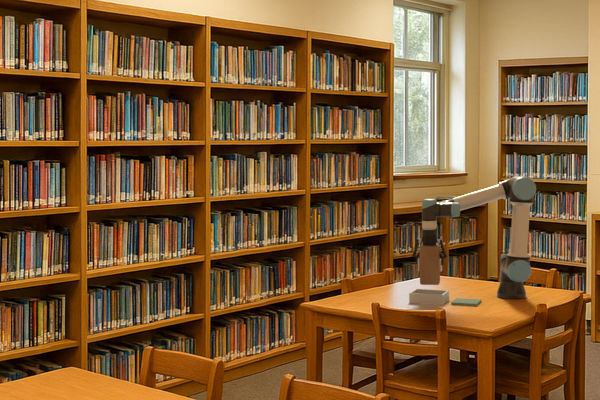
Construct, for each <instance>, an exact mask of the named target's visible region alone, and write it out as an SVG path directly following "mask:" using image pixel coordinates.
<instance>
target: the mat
mask: <svg viewBox="0 0 600 400" xmlns="http://www.w3.org/2000/svg"><path fill="white" fill-rule="evenodd" d="M481 303H482V299H477V298H476V299H475V298H464V297H463V298H462V297H456V298H454V299H453V300H452V301H451V302H450V305H452V306H467V307H468V306H469V307H478V306H479V305H480V304H481Z"/></svg>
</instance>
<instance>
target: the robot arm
mask: <svg viewBox="0 0 600 400" xmlns="http://www.w3.org/2000/svg"><path fill="white" fill-rule="evenodd" d="M536 193H537V186H536V183H535V182H534V180H533V179H532V178H530V177H528V176H525V175H523V176H522V175H515V176H513V177H511V178H508V179H505V180H503V181H499V182H498V184H496V185H493V186H489V187H487V188H484V189H483V188H482V189H479V190H477V191H473V192H470V193H465V194H463V195H460V196H457V197H453V198H450V199H446V200H441V201H439V202H438V201H437V199H436V198H425V199H422V201H421V228H422V230H421V237H422V238H416V239H415V245H414V249H413V252H412V255H411V257H412V258H414V259H415V264H416V265H417V272H420V250H419V248H420V243H421V242H422V244H423V246H425V245H426V246H435V245H436V244H437V243H439V246H440V249H441V250H439V256H440V259H439V266H440V273H441V272H442V271H443V266H444V265H445V259H446V258H448V254H447V251H446V247H445V245H444V239H443V238H439V239H438V233H437V232H438V231H437V227H438V221H437V220H438V219H437V218H458V217H460V215H461V211H464V210H467V209H471V208H474V207H478V206H481V205H484V204H487V203H488V204H489V203H492V202H495V201H498V200H501V199H503V200H508V199H509V203H510V204H511V206H512V210H511V211H512V212H511V229H510V231H511V232H510V247H509V252H508V253H502V254H501V255H500V260H499V261H500V273H499V274H500V281H499V286H498V287H497V290H496V297H498V298H502V299H511V300H516V299H517V300H518V299H525V298H527V292H526V288H525V285H524V282H525V281H527V280H528V279H529V278H530V277H531V274H532V266H531V264H530V262H531V256H530V254H529V253H528V246H529V245H528V243H529V231H530V230H529V229H530V228H529V227H530V209H531V206H532V205H533V204H534V196H535V195H536ZM418 250H419V251H418Z"/></svg>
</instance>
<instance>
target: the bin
mask: <svg viewBox="0 0 600 400" xmlns="http://www.w3.org/2000/svg"><path fill="white" fill-rule="evenodd" d="M408 294H409V296H408V298H409V299H408V301H409V302H408V303H411V304H426V305H441V306H443V305H445V304H446V303H447V302H448V301H450V290H445V289H444V290H443V289H429V288H428V289H427V288H415V289H413V290H412V291H410V292H409V293H408Z"/></svg>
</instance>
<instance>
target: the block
mask: <svg viewBox="0 0 600 400" xmlns="http://www.w3.org/2000/svg"><path fill="white" fill-rule="evenodd" d="M440 249H441V246H440V244H437V243H436V245H435V246H426V245H425V246H423V243H422V244H420V245H419V247H418V250H419V251H420V256H419V258H420V271H419V285H422V286H423V285H424V286H439V285H440V282H441V272H440V266H439V259H441V258H440V256H439V250H440ZM440 251H441V250H440Z"/></svg>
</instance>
